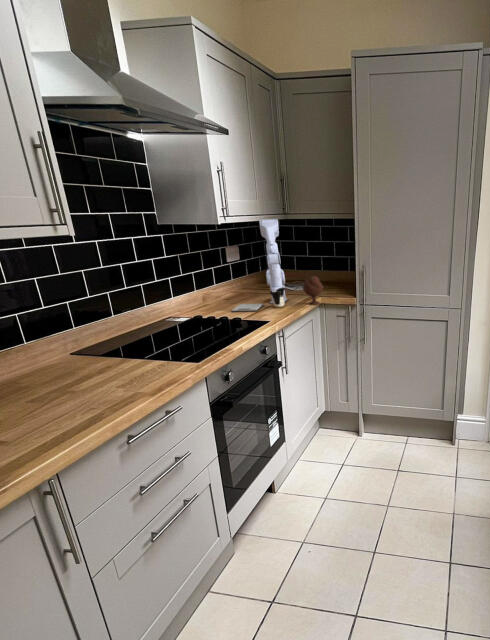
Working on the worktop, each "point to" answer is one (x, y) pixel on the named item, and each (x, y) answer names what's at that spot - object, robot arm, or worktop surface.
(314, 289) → the brown tree model
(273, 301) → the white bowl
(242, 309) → the scale
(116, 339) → the worktop surface
